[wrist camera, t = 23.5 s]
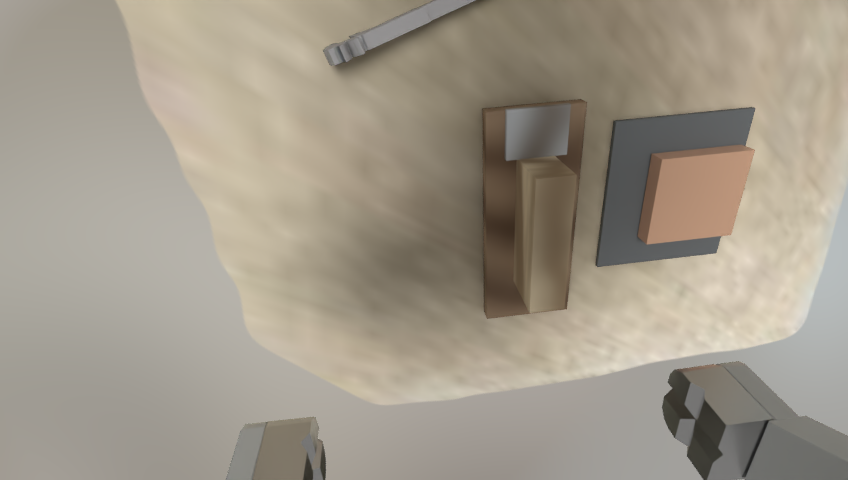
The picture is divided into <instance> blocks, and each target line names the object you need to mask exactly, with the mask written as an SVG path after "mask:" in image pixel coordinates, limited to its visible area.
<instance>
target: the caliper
mask: <svg viewBox="0 0 848 480" xmlns="http://www.w3.org/2000/svg"><path fill="white" fill-rule="evenodd" d="M473 1H475V0H433V1H431V2H429V3H427V4H424V5H422V6H420V7H418V8H414V9H412V10H410V11H408V12H406V13H403V14H401V15H399V16H397V17H394V18H392V19H390V20H388V21H386V22H384V23H382V24H380V25H378V26H376V27H373V28H371V29H368V30H365V31H362V32H359V33H356V34H354V35H351V36H349V37H350V39H348V40H346V41H343V42H341V43H335V44H331V45H329V46H327V47H326V48H325V49H324V50H323V52H324V54H325V56H326V58H327V60H328V63H329V65H337V64H339V63H342V62H348V61H349V60H351V59H352V57H356V56H359V55H363V54H365V51H367V50H370V49H372V48H375V47H377V46H379V45H381V44H383V43H385V42H388V41H390V40H392V39H394V38H396V37H398V36H401V35H403V34H405V33H407V32H409V31H411V30H414V29H416V28H418V27H420V26H422V25H424V24H427V23H429V22H431V21H432V20H434V19H436V18H438V17H440V16H443V15H445V14H447V13H449V12H451V11H454V10H456V9H458V8H460V7H462V6H464V5H467V4H469V3H471V2H473Z"/></svg>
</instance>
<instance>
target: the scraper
mask: <svg viewBox="0 0 848 480" xmlns="http://www.w3.org/2000/svg"><path fill="white" fill-rule="evenodd" d="M570 110H571V104H570V103H562V104H552V105H542V106H531V107H521V108H510V109H505V160H506V161H509V160H517V164H516V202H515V240H514V277H513V281H514V283H515V285H516V287H517V289H518V291H519V293H520V295H521V297H522V299H523V301H524V303H525V305H526V307H527V309H528V311H529V313H535V312H543V311H552V310H560V309H564V307H565V297H566V286H567V275H568V264H569V253H570V243H571V232H572V221H573V210H574V200H575V189H576V178H577V175H576V174H575V173H574V172H573V171H572V170H571V169H569V168H568V167H567V166H566V165H565V164H564V163H562V162H561V161H560V160H559V159H558V158H557V157H556V156H558V155H567V147H568V135H569V122H570Z"/></svg>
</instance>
